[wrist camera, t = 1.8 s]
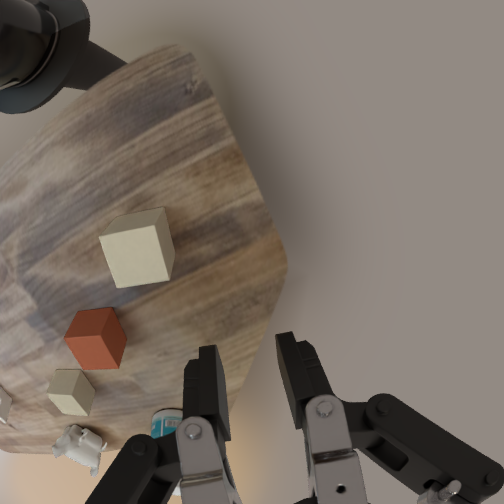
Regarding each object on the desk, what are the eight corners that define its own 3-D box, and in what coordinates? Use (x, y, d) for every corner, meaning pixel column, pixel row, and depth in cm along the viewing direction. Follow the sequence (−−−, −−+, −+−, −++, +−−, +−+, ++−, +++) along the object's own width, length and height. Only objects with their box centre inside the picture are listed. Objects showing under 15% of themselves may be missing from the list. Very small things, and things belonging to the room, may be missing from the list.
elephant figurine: (120, 437, 42) (115, 475, 34) (89, 446, 44) (83, 479, 36) (80, 412, 38) (69, 453, 30) (53, 423, 40) (43, 458, 32)
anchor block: (77, 311, 30) (63, 338, 25) (112, 306, 30) (100, 335, 25) (93, 342, 32) (83, 370, 27) (127, 339, 32) (119, 368, 28)
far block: (55, 369, 33) (45, 393, 29) (80, 369, 34) (71, 395, 29) (71, 390, 36) (63, 414, 31) (95, 390, 36) (89, 416, 31)
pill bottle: (168, 432, 42) (167, 499, 30) (143, 411, 39) (136, 485, 27) (206, 424, 42) (210, 495, 30) (183, 403, 39) (182, 482, 26)
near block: (115, 216, 26) (98, 236, 21) (164, 206, 26) (154, 225, 22) (129, 262, 28) (116, 288, 23) (175, 254, 28) (169, 280, 24)
